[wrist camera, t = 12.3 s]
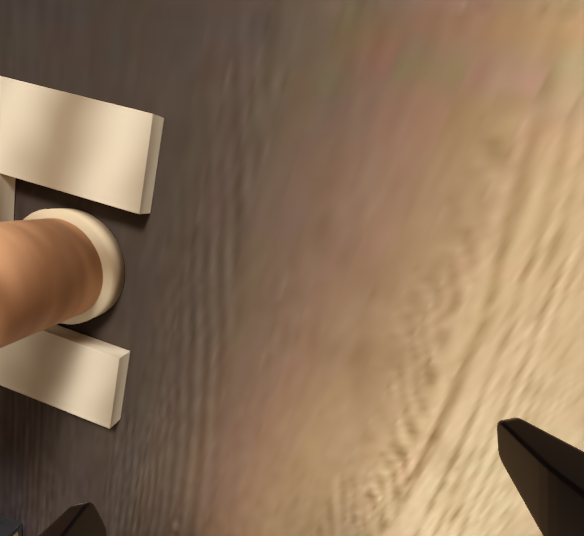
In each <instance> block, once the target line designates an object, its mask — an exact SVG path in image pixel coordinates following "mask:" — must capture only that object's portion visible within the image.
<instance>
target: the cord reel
mask: <svg viewBox="0 0 584 536" xmlns="http://www.w3.org/2000/svg"><path fill="white" fill-rule="evenodd" d="M124 281H125V265H124V259H123V256H122V252H121V250H120V247H119V245H118V243H117V241H116V239H115V237H114V236H113V234H112V233H111V232H110V230H109V229H108V228H107V227H106V226H105V225H104V224H103V223H102V222H101V221H100V220H98V219H97V218H96V217H94V216H93V215H91V214H89V213H87V212H84V211H82V210H78V209H73V208H59V209H43V210H39V211H36V212H34V213H32V214H30V215H29V216H27V217H26V218H25V219H24V220H18V221H4V222H0V348H2V347H4V346H7V345H9V344H11V343H14V342H16V341H18V340H21V339H23V338H26V337H28V336H30V335H33V334H35V333H37V332H40V331H42V330H45V329H47V328H49V327H52V326H54V325H56V324H59V323H62V324H79V323H82V322H86V321H88V320H90V319H92V318H94V317H97V316H99V315H101V314H103V313H105V312H106V311H108V310H109V309H110V308H111V307H112V306H113V305H114V304H115V303H116V302H117V300H118V299H119V297H120V295H121V292H122V290H123V286H124Z"/></svg>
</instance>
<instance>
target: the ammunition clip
mask: <svg viewBox="0 0 584 536" xmlns="http://www.w3.org/2000/svg"><path fill="white" fill-rule="evenodd" d="M0 536H22V523H20V522H18V521H15V520H13V519H10V518H8V517H5V516H2V515H0Z"/></svg>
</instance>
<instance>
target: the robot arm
mask: <svg viewBox="0 0 584 536" xmlns="http://www.w3.org/2000/svg"><path fill="white" fill-rule="evenodd" d="M497 434H498V451H499V455H500V458H501V461H502V463H503V465H504V467H505V468H506V470H507V472H508V474H509V475H510V477H511V479H512V481H513V483H514V484H515V486H516V488H517V490H518V492H519V493H520V495H521V497H522V499H523V500H524V502H525V504H526V506H527V508H528V509H529V511H530V513H531V515H532V517H533V518H534V520H535V522H536V524H537V525H538V527H539V529H540V531H541V532H542V534H543V536H584V452H583V451H581V450H579V449H577V448H575V447H574V446H572V445H570V444H568V443H566V442H564V441H562V440H560V439H558V438H556V437H555V436H553V435H551V434H549V433H547V432H545V431H543V430H541V429H539V428H537V427H535V426H534V425H532V424H530V423H528V422H526V421H524V420H522V419H519V418H511V419H506V420H501V421H499V422H498V424H497ZM39 536H106V527H105V525H104V523H103V521H102V519H101V517H100V515H99V513H98V511H97V509H96V507H95V506H94V504H92V503H91V502H87V503H82V504H77V505H73V506H71V507H70V508H68V509H67V510H66V511H65V512H64V513H63V514H62V515H61V516H60V517H59V518H58V519H56V520H55V521H54V522H53V523H52V524H51V525H50V526H49V527H48V528H47V529H46V530H45V531H43V532H42V533H41V534H40V535H39Z"/></svg>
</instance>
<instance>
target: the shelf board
mask: <svg viewBox="0 0 584 536" xmlns="http://www.w3.org/2000/svg"><path fill="white" fill-rule="evenodd" d="M163 123H164V118H162V117H160V116H157V115H154V114H151V113H147V112H143V111H139V110H135V109H131V108H127V107H123V106H119V105H115V104H111V103H107V102H103V101H99V100H95V99H91V98H87V97H83V96H79V95H75V94H71V93H66V92H62V91H58V90H54V89H50V88H46V87H42V86H38V85H34V84H30V83H26V82H22V81H18V80H14V79H10V78H6V77H2V76H0V222H4V221H14V201H15V179H16V178H18V179H22V180H25V181H28V182H32V183H35V184H38V185H42V186H45V187H49V188H52V189H55V190H59V191H62V192H66V193H69V194H72V195H76V196H79V197H83V198H86V199H89V200H93V201H96V202H99V203H103V204H106V205H110V206H113V207H116V208H120V209H123V210H127V211H130V212H133V213H137V214H148V213H150V212H151V205H152V198H153V191H154V185H155V178H156V171H157V164H158V157H159V150H160V143H161V136H162V129H163ZM129 356H130V351H128V350H126V349H123V348H120V347H117V346H115V345H112V344H109V343H106V342H103V341H101V340H98V339H95V338H92V337H89V336H87V335H84V334H81V333H78V332H76V331H73V330H70V329H67V328H64V327H62V326H59V325H54V326H52V327H49V328H47V329H45V330H42V331H40V332H37V333H35V334H33V335H30V336H28V337H26V338H23V339H21V340H18V341H16V342H14V343H11V344H9V345H7V346H4V347H2V348H0V385H1V386H3V387H6V388H9V389H11V390H14V391H16V392H19V393H21V394H24V395H26V396H29V397H31V398H34V399H36V400H39V401H41V402H44V403H46V404H49V405H51V406H54V407H56V408H59V409H61V410H64V411H66V412H69V413H71V414H74V415H76V416H79V417H81V418H84V419H86V420H89V421H91V422H94V423H96V424H99V425H102V426H104V427H107V428H109V429H110V428H111V427H112V426H113V425H114V424H116V423H117V422H118V421H119V420H120V418H121V411H122V405H123V398H124V391H125V384H126V377H127V370H128V363H129Z"/></svg>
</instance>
